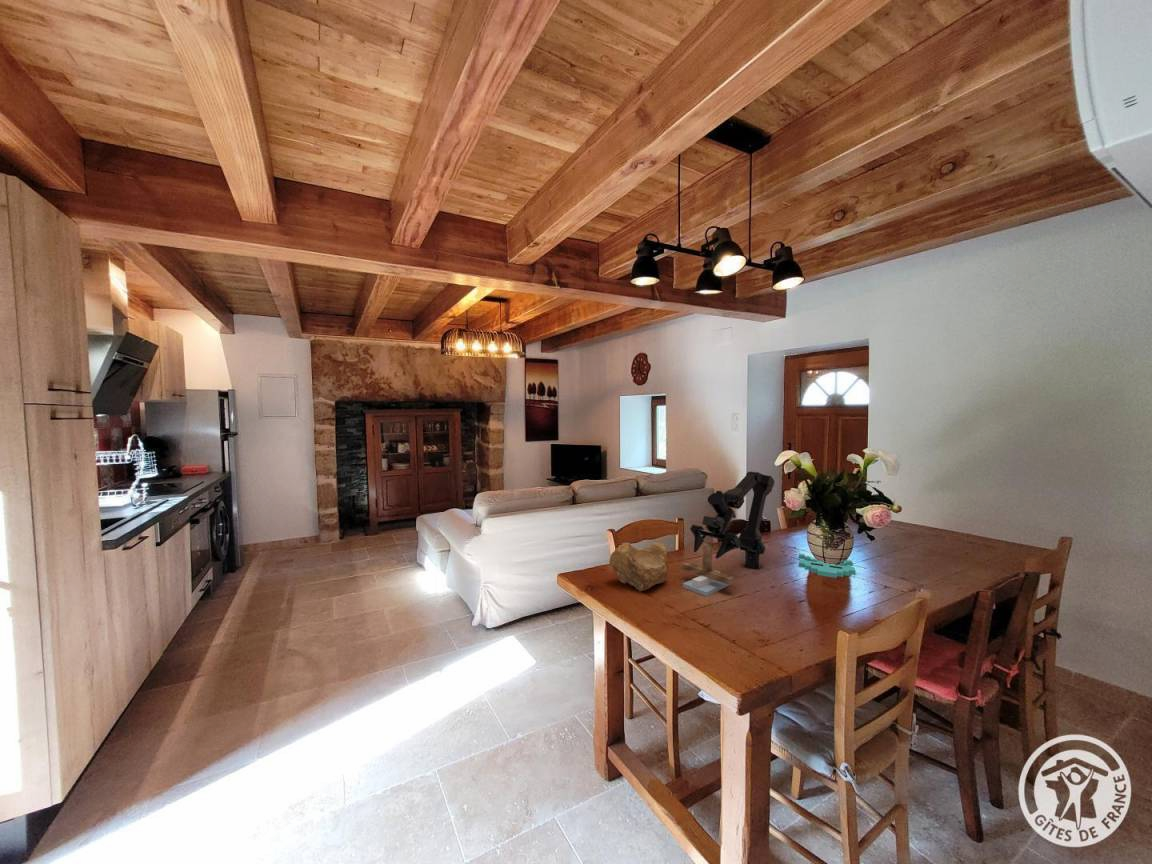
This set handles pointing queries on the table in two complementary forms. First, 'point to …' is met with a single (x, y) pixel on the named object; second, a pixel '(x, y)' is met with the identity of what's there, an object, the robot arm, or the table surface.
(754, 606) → the table surface
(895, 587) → the table surface
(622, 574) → the rough brown rock
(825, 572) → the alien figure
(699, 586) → the stand
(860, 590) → the table surface
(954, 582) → the table surface
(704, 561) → the wooden bar with post
